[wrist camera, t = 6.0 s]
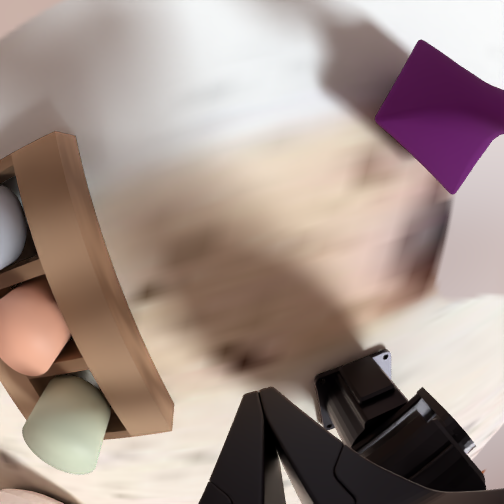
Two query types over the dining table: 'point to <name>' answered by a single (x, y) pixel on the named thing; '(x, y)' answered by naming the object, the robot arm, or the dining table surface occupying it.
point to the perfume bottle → (442, 114)
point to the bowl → (24, 497)
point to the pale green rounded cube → (68, 425)
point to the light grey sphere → (11, 227)
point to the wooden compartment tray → (80, 292)
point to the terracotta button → (31, 327)
